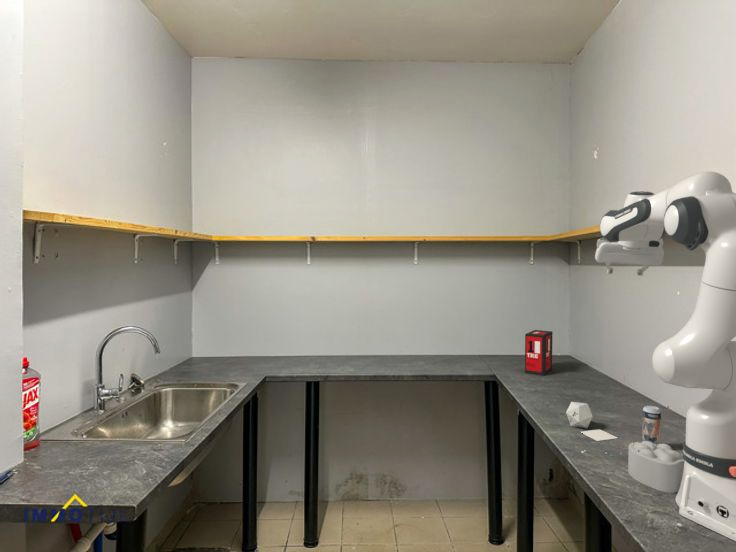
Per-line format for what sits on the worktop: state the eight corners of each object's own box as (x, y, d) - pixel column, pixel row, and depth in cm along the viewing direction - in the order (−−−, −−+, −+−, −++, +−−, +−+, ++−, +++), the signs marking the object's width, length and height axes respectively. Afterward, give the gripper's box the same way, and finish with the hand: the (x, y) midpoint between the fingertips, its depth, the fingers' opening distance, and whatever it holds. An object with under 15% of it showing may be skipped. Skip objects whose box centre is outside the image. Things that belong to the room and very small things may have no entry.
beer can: (640, 446, 135) (640, 407, 134) (644, 441, 138) (645, 404, 138) (658, 450, 131) (659, 411, 131) (662, 446, 135) (663, 407, 134)
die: (560, 422, 156) (560, 406, 151) (577, 408, 158) (577, 392, 153) (581, 438, 150) (581, 421, 144) (597, 423, 152) (598, 406, 147)
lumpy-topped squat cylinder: (668, 495, 107) (669, 460, 106) (618, 472, 118) (618, 440, 118) (693, 485, 111) (694, 452, 111) (642, 464, 123) (642, 434, 123)
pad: (617, 438, 141) (618, 437, 141) (597, 441, 138) (597, 440, 138) (599, 429, 148) (599, 429, 148) (580, 432, 146) (580, 431, 146)
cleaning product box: (534, 366, 236) (535, 329, 235) (552, 369, 230) (552, 331, 230) (524, 373, 222) (525, 334, 222) (543, 375, 217) (543, 335, 216)
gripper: (599, 240, 148) (592, 276, 155) (669, 243, 142) (659, 280, 148) (596, 233, 153) (590, 267, 160) (664, 235, 147) (655, 271, 154)
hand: (624, 273), depth 154 cm, fingers open, 8 cm apart
